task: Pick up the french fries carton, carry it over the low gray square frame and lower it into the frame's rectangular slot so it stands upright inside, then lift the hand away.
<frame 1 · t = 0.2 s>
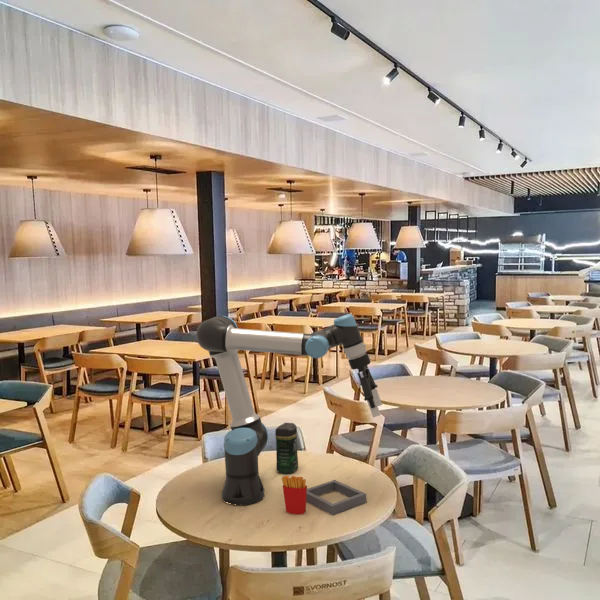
hand: (377, 410, 210), 28 cm above the table, tool tilted 20°, fingers open, 13 cm apart
french fries: (295, 512, 193), on the table
gray square frame: (333, 500, 200), on the table
coffee jar: (287, 470, 231), on the table
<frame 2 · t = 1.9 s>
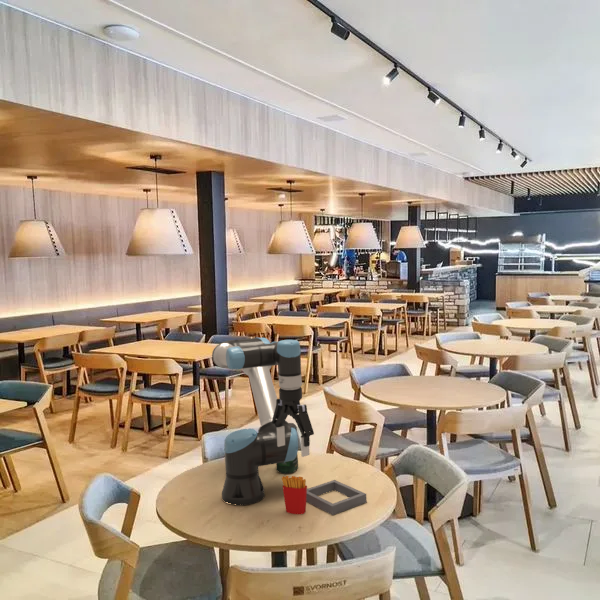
hand: (293, 450, 192), 21 cm above the table, tool pointing down, fingers open, 13 cm apart
nothing on the table moved.
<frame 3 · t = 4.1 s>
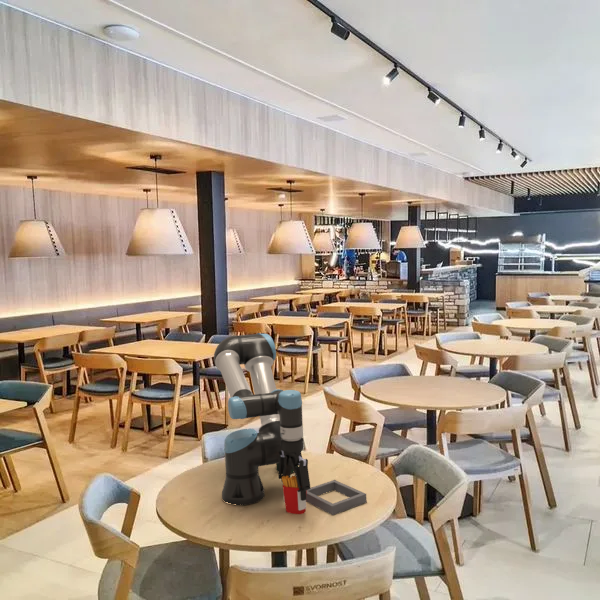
hand: (294, 505, 193), 2 cm above the table, tool pointing down, fingers closed on french fries, 8 cm apart
french fries: (295, 511, 193), on the table, touching gripper
everything else where it was.
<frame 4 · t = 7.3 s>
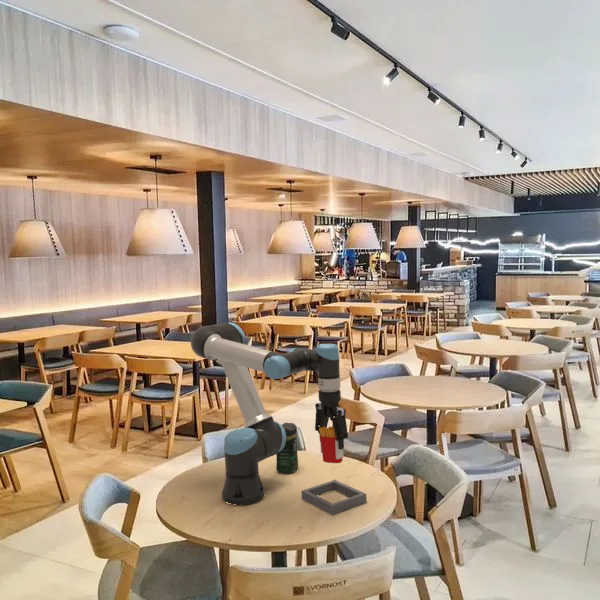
hand: (332, 454, 199), 16 cm above the table, tool pointing down, fingers closed on french fries, 8 cm apart
french fries: (332, 461, 199), point 14 cm above the table, touching gripper
everything else where it was.
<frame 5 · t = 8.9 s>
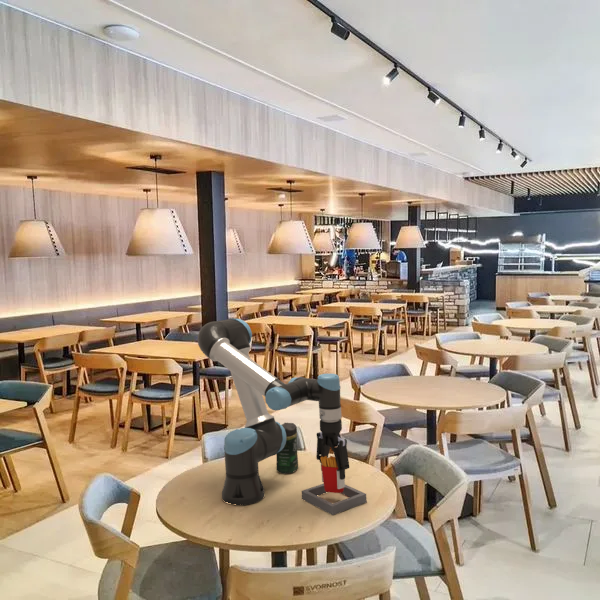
hand: (333, 484, 200), 6 cm above the table, tool pointing down, fingers closed on french fries, 8 cm apart
french fries: (333, 491, 200), point 3 cm above the table, touching gripper
everything else where it was.
when the fingers open (4 cm above the table, at t = 10.2 s): french fries drops 1 cm, resting in gray square frame.
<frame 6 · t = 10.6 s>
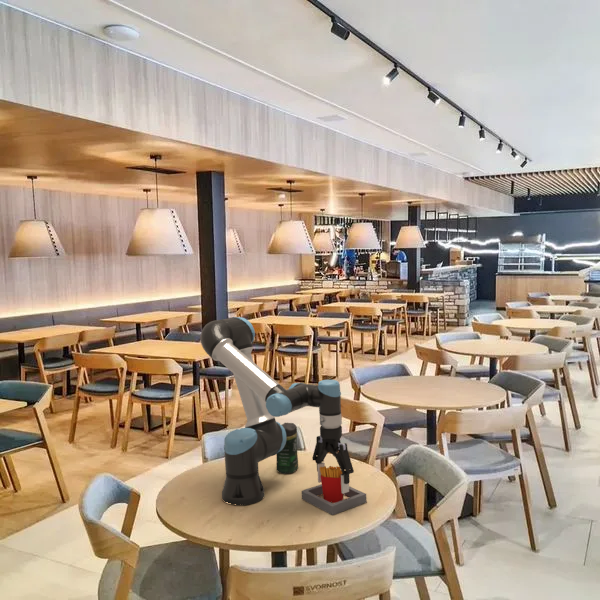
hand: (333, 486, 200), 5 cm above the table, tool pointing down, fingers open, 12 cm apart
french fries: (332, 500, 201), resting in gray square frame
everything else where it was.
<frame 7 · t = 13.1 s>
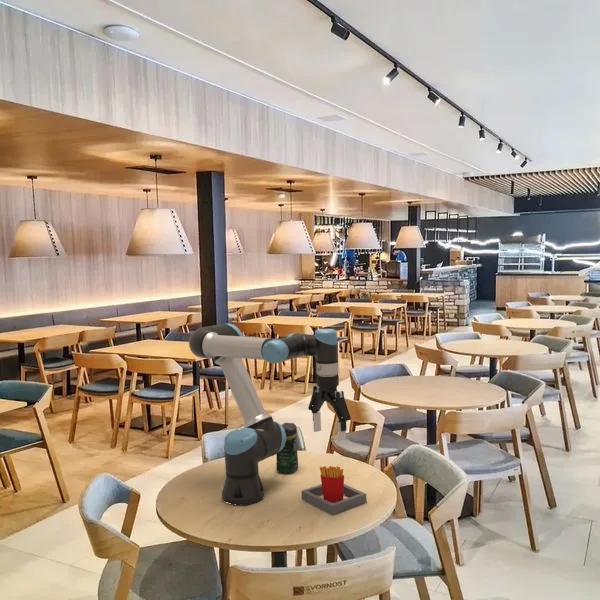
hand: (329, 435, 199), 23 cm above the table, tool pointing down, fingers open, 13 cm apart
nothing on the table moved.
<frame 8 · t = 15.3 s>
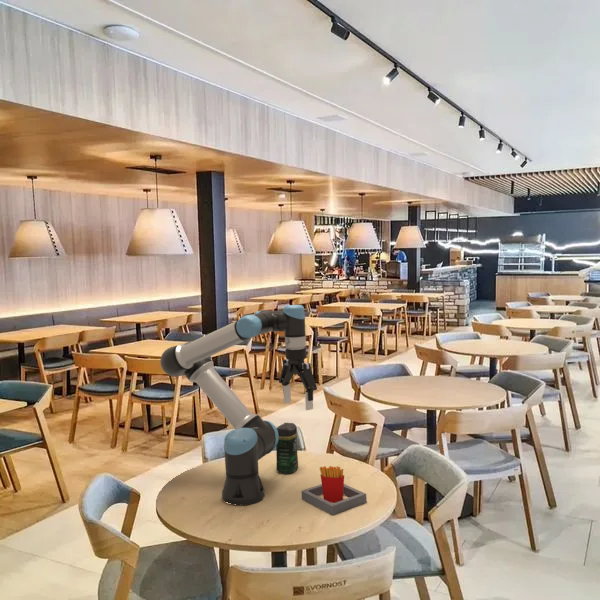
hand: (298, 406, 210), 31 cm above the table, tool pointing down, fingers open, 13 cm apart
nothing on the table moved.
at the end: french fries inside the target area on the gray square frame (0.6 cm from its centre), point 0.0 cm above the gray square frame's base; french fries tilted 0°; the gripper is holding nothing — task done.
